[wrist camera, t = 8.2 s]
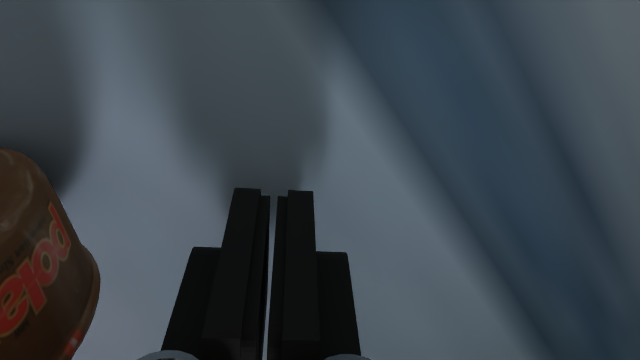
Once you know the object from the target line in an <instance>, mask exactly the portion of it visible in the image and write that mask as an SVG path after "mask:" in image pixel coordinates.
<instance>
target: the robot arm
mask: <svg viewBox="0 0 640 360" xmlns="http://www.w3.org/2000/svg"><path fill="white" fill-rule="evenodd" d="M269 220H270V196H261V190H260V189H253V188H235V189H234V193H233V197H232V202H231V206H230V211H229V215H228V220H227V224H226V229H225V233H224V238H223V242H222V247H221V248H213V247H194V248H193V249H192V251H191V253H190V256H189V260H188V263H187V266H186V270H185V273H184V276H183V279H182V283H181V286H180V289H179V292H178V296H177V299H176V302H175V305H174V309H173V312H172V315H171V318H170V322H169V325H168V328H167V332H166V335H165V338H164V341H163V345H162V348H161V351H159V352H154V353H150V354H147V355H145V356H143V357H141V358H139V359H137V360H262V355H263V343H264V331H265V318H266V306H267V290H268V255H269ZM267 360H370V359H369V358H365V357H362V356H361V352H360V344H359V337H358V329H357V322H356V314H355V307H354V299H353V292H352V284H351V277H350V269H349V262H348V256H347V253H346V252H321V251H316V243H315V221H314V199H313V191H296V190H288V197H283V196H278V202H277V216H276V230H275V243H274V257H273V271H272V285H271V298H270V312H269V326H268V344H267Z"/></svg>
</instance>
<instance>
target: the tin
mask: <svg viewBox="0 0 640 360" xmlns="http://www.w3.org/2000/svg"><path fill="white" fill-rule="evenodd" d="M100 280H101V279H100V273H99V269H98V265H97V263H96V261H95V259H94V258H93V256H92V254H91V253H90V252H89V251H88V250H87V248H85V247H84V246H83V245H82V244H81V242H80V240H79V238H78V236H77V234H76V232H75V230H74V228H73V226H72V224H71V222H70V220H69V218H68V216H67V214H66V212H65V210H64V208H63V206H62V204H61V202H60V200H59V198H58V196H57V194H56V192H55V191H54V189H53V187H52V185H51V184H50V182H49V180H48V179H47V177H46V175H45V174H44V173H43V171H42V170H41V169H40V168H39V166H38V165H37V164H36V163H35V162H34V161H32V160H31V159H30V158H29V157H27V156H25V155H24V154H22V153H19V152H17V151H15V150H11V149H7V148H0V360H71V359H72V357H73V356H74V354H75V352H76V350H77V349H78V347H79V346H80V344H81V343H82V341H83V339H84V337H85V335H86V333H87V331H88V329H89V327H90V324H91V322H92V319H93V317H94V314H95V311H96V307H97V303H98V299H99V292H100Z"/></svg>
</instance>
